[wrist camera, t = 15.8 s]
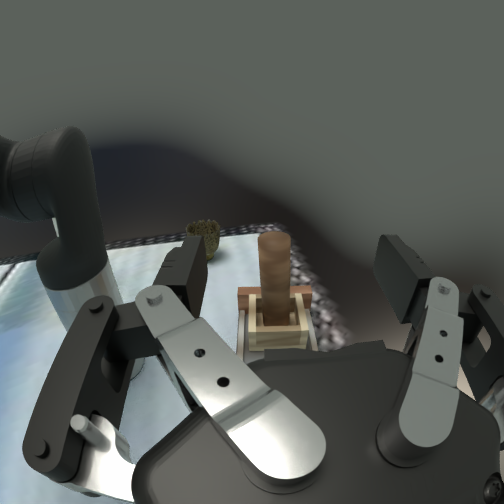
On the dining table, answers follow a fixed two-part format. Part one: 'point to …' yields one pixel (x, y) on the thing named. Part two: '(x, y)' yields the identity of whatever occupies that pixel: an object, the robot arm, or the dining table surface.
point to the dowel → (275, 277)
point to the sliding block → (277, 335)
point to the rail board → (244, 321)
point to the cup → (206, 235)
